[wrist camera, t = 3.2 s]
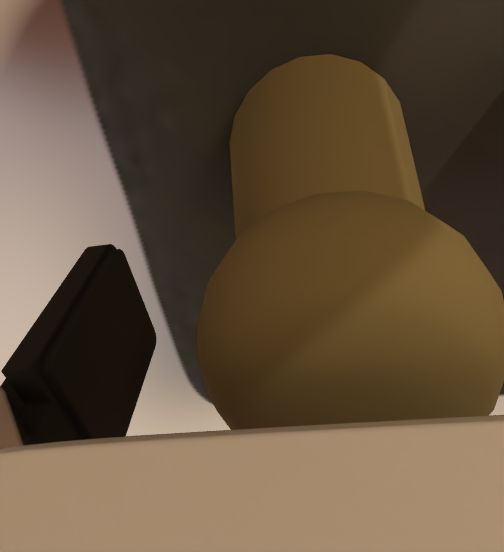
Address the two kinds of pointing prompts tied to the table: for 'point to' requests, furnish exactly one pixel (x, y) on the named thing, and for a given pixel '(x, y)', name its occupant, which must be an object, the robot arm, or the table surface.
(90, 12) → the table surface
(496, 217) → the table surface
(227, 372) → the olive tapered piece
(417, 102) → the table surface
